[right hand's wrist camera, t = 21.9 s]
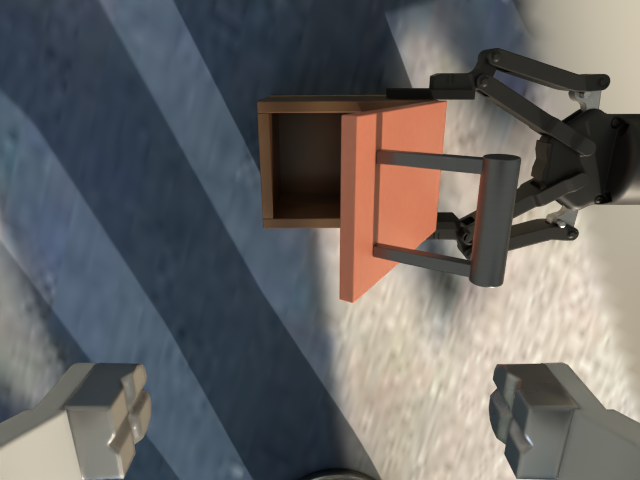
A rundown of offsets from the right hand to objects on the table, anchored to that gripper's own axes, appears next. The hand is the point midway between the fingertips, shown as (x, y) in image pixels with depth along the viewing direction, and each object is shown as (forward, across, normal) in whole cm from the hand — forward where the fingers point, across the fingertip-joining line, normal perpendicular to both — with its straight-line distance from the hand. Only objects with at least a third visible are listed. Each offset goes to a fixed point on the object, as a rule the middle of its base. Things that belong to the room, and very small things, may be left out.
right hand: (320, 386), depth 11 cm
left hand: (+30, +6, 0) cm, 30 cm away
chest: (+36, +2, 0) cm, 36 cm away
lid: (+20, +5, 0) cm, 21 cm away
